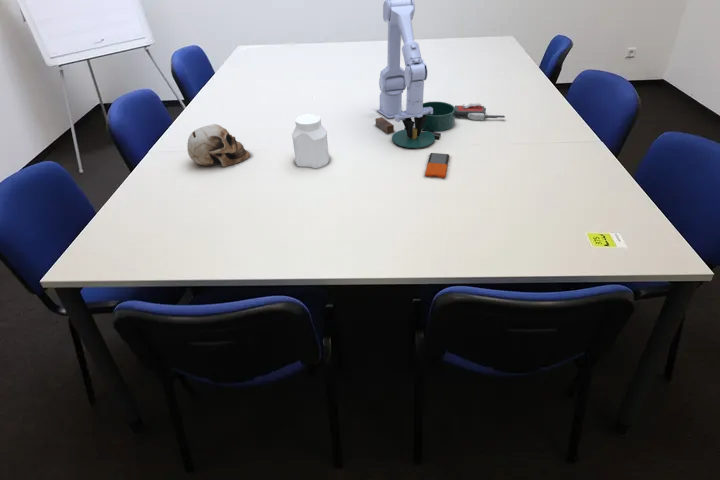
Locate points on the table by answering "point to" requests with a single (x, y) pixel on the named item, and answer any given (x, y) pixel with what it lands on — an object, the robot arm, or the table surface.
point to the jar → (310, 142)
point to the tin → (439, 116)
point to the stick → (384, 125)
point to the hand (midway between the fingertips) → (413, 136)
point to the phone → (437, 165)
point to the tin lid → (413, 139)
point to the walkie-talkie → (473, 112)
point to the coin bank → (215, 147)
